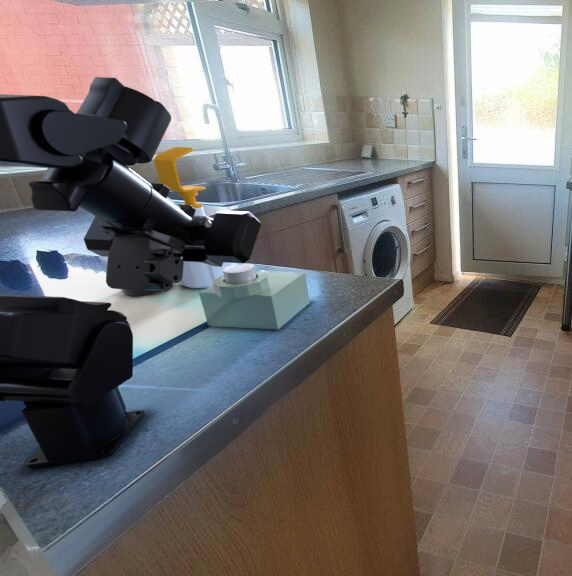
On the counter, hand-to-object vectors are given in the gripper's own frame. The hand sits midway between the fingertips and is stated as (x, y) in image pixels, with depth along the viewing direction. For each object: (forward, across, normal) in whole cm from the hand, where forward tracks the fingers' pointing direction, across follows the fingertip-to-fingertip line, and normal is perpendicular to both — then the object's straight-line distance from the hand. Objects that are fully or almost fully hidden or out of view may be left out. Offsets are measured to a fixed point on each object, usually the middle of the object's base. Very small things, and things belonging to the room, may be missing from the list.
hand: (220, 263), depth 58 cm
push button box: (+12, 0, -3) cm, 13 cm away
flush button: (+5, 0, 0) cm, 5 cm away
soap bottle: (+21, -18, +6) cm, 29 cm away
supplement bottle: (+18, -26, +2) cm, 31 cm away
